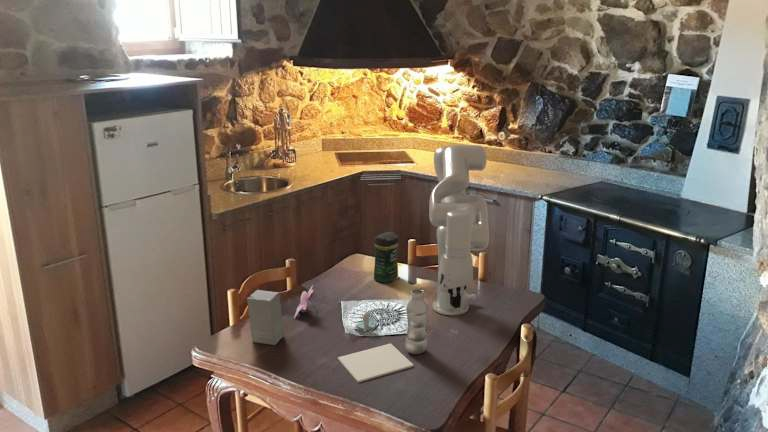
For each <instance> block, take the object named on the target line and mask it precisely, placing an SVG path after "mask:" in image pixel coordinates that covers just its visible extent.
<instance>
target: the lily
mask: <svg viewBox="0 0 768 432" xmlns="http://www.w3.org/2000/svg"><path fill="white" fill-rule="evenodd" d="M313 286H314V285H312V286H311V287H310V288H309V289H308V291H305V290H304V291H302V293H301V296H300V300H299V302H300V303H299V305H298V306H297V308H296V312H295V314H294V316H293V318H294V319H296V317H297V315H298V314H299V312H300V311H301V310H307V309H306V308H307V307H308V306H309V307H310V306H311V307H312V308H314V309H315V311H316V313H319V310H317V308H316V307H315V306H314V305H313V304H312V302H311V294H313V292H314V289H312V288H313Z"/></svg>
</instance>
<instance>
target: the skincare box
mask: <svg viewBox="0 0 768 432" xmlns="http://www.w3.org/2000/svg"><path fill="white" fill-rule="evenodd" d="M246 300H247V301H246V302H247V307H248V315H249V324H250V331H251V338H252V343H258V344H259V343H260V344H266V345H272V346H276V345H277V344H278V343H279V341H281V339H283V338H284V336H285V330H284V323H283V314H282V305H281V297H280V292H277V291H268V290H262V289H256V290H255V291H253V293H251V294H250V296H248V297H246Z"/></svg>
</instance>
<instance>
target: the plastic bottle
mask: <svg viewBox="0 0 768 432" xmlns="http://www.w3.org/2000/svg"><path fill="white" fill-rule="evenodd" d="M424 294H425V293H424V290H422V289H418V288H415V289H411V291H410V300H409V301H408V303H406V309H405V310H406V319H407V329H406V330H407V331H406V337H405V341H404V346H405V350H406V351H407V352H408V353H410V354H411V355H420V354H423V353H424V352H425V351H426V350H427V347H428V341H427V332H426V329H427V328H426V327H427V326H426V325H427V318H428V312H429V306H428V305H429V304H427V302H426V301H425V300H424V298H425V295H424Z"/></svg>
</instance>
